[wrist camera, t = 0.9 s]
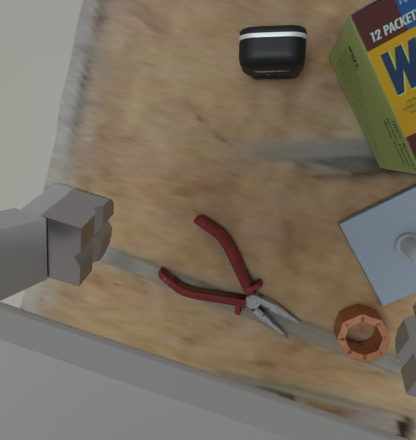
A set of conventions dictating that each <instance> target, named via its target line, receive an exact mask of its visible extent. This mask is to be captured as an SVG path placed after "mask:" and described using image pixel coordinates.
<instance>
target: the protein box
mask: <svg viewBox="0 0 416 440" xmlns="http://www.w3.org/2000/svg"><path fill="white" fill-rule="evenodd" d="M329 59H330V61H331V63H332V65H333V68H334V70H335V72H336V74H337V76H338V78H339V80H340V83H341V85H342V87H343V89H344V91H345V93H346V96H347V98H348V100H349V102H350V104H351V106H352V109H353V111H354V113H355V115H356V117H357V119H358V122H359V124H360V126H361V128H362V130H363V132H364V135H365V137H366V139H367V141H368V143H369V145H370V148H371V150H372V152H373V154H374V156H375V159H376V161H377V163H378V165H379V167H380V168H383V169H388V170H394V171H400V172H406V173H412V174H416V0H375V1H374V2H372V3H370V4H368V5H367V6H365V7H363V8H361V9H359V10H357V11H356V12H354V13H352V14H351V15H350V16H349V18H348V20H347V22H346V24H345V26H344V28H343V30H342V32H341V34H340V36H339V38H338V40H337V42H336V44H335V46H334V48H333V50H332V52H331V54H330V56H329Z"/></svg>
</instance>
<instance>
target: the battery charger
mask: <svg viewBox="0 0 416 440" xmlns="http://www.w3.org/2000/svg"><path fill="white" fill-rule="evenodd" d="M306 46H307V32H306V29H305V28H304V27H302V26H297V25H283V26H259V27H248V28H245V29H243V30H242V31H241V32H240V37H239V62H240V65H241V67H242V70H243V72H244V73H246V74H247V75H250V76H251V77H252V78H254V79H291V78H295V77H297V76H298V74H299V73H300V72H301V71H302V69H303V67H304V62H305V54H306Z"/></svg>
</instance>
